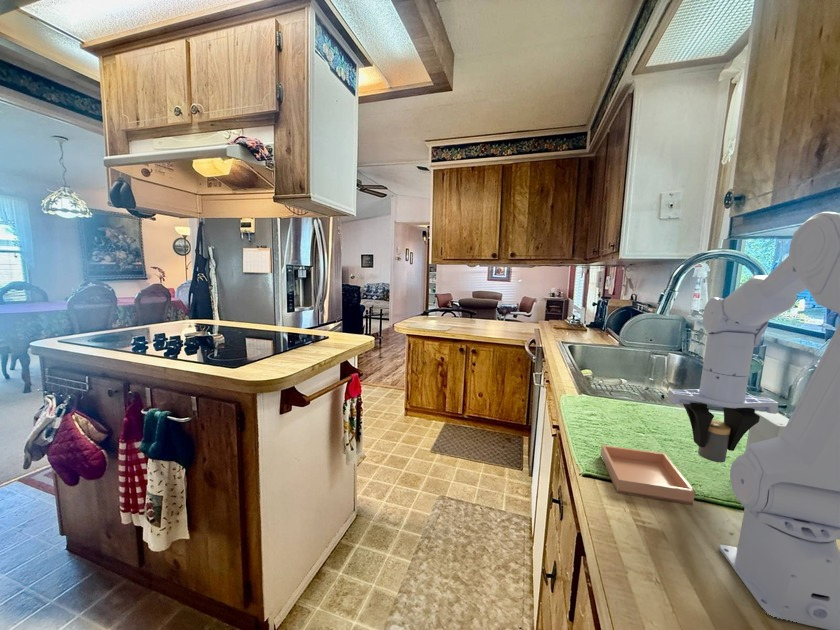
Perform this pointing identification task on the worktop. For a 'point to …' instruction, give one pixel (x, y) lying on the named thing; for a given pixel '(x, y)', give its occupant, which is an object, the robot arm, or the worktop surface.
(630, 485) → the dish
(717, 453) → the cell
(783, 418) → the skincare box
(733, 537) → the worktop surface
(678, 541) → the worktop surface
